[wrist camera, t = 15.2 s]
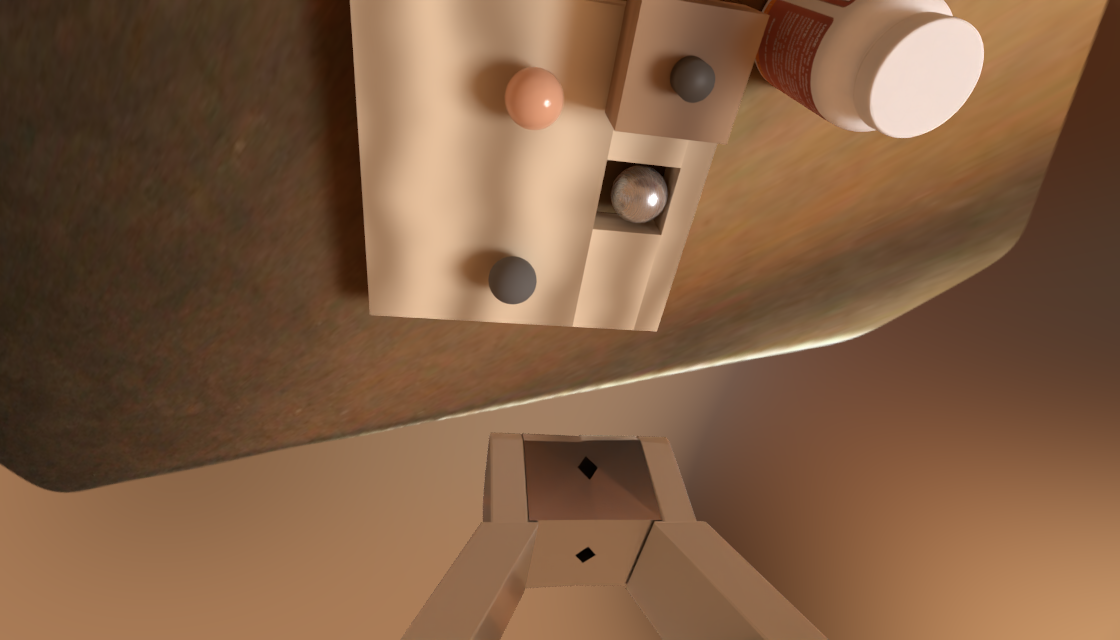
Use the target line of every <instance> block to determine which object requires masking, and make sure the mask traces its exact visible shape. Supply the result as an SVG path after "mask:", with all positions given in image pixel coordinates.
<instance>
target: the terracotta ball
mask: <svg viewBox="0 0 1120 640" xmlns="http://www.w3.org/2000/svg"><path fill="white" fill-rule="evenodd" d="M563 104H564V94H563V89H562V86H561V84H560V82H559V81H558V79H557V78H556V77H555V76H554V75H553V74H552V73H551V72H549V71H548V70H546V69H543V68H540V67H527V68H524V69H522V70H520V71H518V72H517V73H516V74H515V75H514V76H513V77H512V78H511V79H510V81H509V82H508V85H507V87H506V91H505V105H506V109H507V112H508V114H509V116H510V117H511V118H512V120H513V121H514V122H515V123H516V124H518V125H519V126H521V127H523V128H525V129H528V130H541V129H545V128H547V127H549V126H550V125H552V124H553V123H554V122H555V121H556V120H557V119H558V117H559V116H560V114H561V112H562V109H563Z"/></svg>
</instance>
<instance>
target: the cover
mask: <svg viewBox="0 0 1120 640" xmlns="http://www.w3.org/2000/svg"><path fill="white" fill-rule="evenodd" d="M769 16H770V15H768V14H765V13H763V12H761V11H758V10H756V9H754V8H751V7H749V6H747V5H743V4H737V3H731V2H725V1H719V0H627V1H626V6H625V11H624V17H623V22H622V27H621V32H620V37H619V42H618V47H617V52H616V57H615V63H614V68H613V73H612V78H611V83H610V88H609V93H608V98H607V104H606V109H605V114H606V116H607V118H608V119H609V121H610V123H611V125H612V127H613V129H614V131H618V132H626V133H635V134H643V135H651V136H659V137H668V138H676V139H684V140H692V141H701V142H709V143H717V144H725V145H727V142H728V139H729V136H730V133H731V130H732V127H733V124H734V121H735V118H736V115H737V112H738V109H739V106H740V103H741V100H742V97H743V94H744V91H745V88H746V85H747V82H748V79H749V76H750V73H751V70H752V67H753V64H754V61H755V58H756V55H757V52H758V49H759V46H760V43H761V40H762V37H763V34H764V31H765V28H766V25H767V22H768V19H769Z"/></svg>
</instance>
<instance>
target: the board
mask: <svg viewBox="0 0 1120 640" xmlns="http://www.w3.org/2000/svg"><path fill="white" fill-rule="evenodd" d="M625 6H626V1H623V0H350V10H351V26H352V42H353V57H354V73H355V89H356V104H357V120H358V136H359V151H360V167H361V182H362V198H363V214H364V229H365V245H366V261H367V276H368V292H369V308H370V315H379V316H396V317H414V318H431V319H449V320H466V321H483V322H501V323H518V324H536V325H553V326H571V327H588V328H606V329H623V330H640V331H657V329H658V326H659V323H660V320H661V317H662V313H663V310H664V307H665V304H666V301H667V298H668V295H669V292H670V289H671V286H672V283H673V280H674V276H675V273H676V270H677V267H678V264H679V261H680V258H681V255H682V252H683V249H684V246H685V242H686V239H687V236H688V233H689V230H690V227H691V224H692V221H693V218H694V215H695V212H696V209H697V205H698V202H699V199H700V196H701V193H702V190H703V187H704V184H705V181H706V178H707V175H708V171H709V168H710V165H711V162H712V159H713V156H714V153H715V150H716V147H717V143H709V142H701V141H692V140H684V139H676V138H668V137H659V136H651V135H643V134H635V133H626V132H618V131H614V129H613V127H612V125H611V123H610V121H609V119H608V118H607V116H606V114H605V109H606V104H607V98H608V93H609V88H610V83H611V78H612V73H613V68H614V63H615V57H616V52H617V47H618V42H619V37H620V32H621V27H622V22H623V17H624V11H625ZM527 67H540V68H543V69H546V70H548V71H549V72H551V73H552V74H553V75H554V76H555V77H556V78H557V79H558V81H559V82H560V84H561V86H562V89H563V94H564V104H563V109H562V112H561V114H560V116H559V117H558V119H557V120H556V121H555V122H554V123H553V124H552V125H550V126H549V127H547V128H545V129H541V130H528V129H525V128H523V127H521V126H519V125H518V124H516V123H515V122H514V121H513V120H512V118H511V117H510V116H509V114H508V112H507V109H506V105H505V91H506V87H507V85H508V82H509V81H510V79H511V78H512V77H513V76H514V75H515V74H516V73H517V72H518V71H520V70H522V69H524V68H527ZM607 160H613V161H622V162H631V163H640V164H649V165H658V166H666V169H665V172H664V176H663V179H664V180H665V183H666V186H667V191H668V196H667V202H666V204H665V207H664V209H663V210H662V211H661V213H660V214H659V215H658V216H657V217H655V218H654V219H652V220H650V221H648V222H645V223H632V222H629V221H626V220H624V219H623V218H622V217H620V216H619V215H618V214H612V213H602V212H596V211H597V207H598V202H599V197H600V192H601V187H602V183H603V178H604V173H605V168H606V163H607ZM509 256H516V257H520V258H523V259H525V260H526V261H528V262H529V263H530V264H531V266H532V267H533V269H534V270H535V273H536V278H537V283H536V288H535V290H534V292H533V294H532V295H531V296H530V297H529V298H528V299H527V300H526V301H524V302H522V303H519V304H506V303H503V302H501V301H500V300H498V299H497V298H496V297H495V296H494V295H493V293H492V292H491V290H490V287H489V282H488V278H489V273H490V270H491V268H492V267H493V265H494V264H495V263H496V262H497V261H499V260H500V259H502V258H505V257H509Z"/></svg>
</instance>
